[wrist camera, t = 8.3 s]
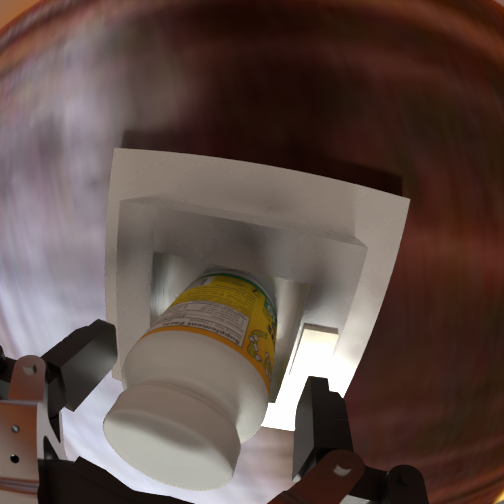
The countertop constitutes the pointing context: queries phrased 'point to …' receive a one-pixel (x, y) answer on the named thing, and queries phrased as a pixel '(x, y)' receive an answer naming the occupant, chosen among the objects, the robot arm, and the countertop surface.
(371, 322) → the white square holder
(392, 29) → the countertop surface
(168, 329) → the supplement bottle
